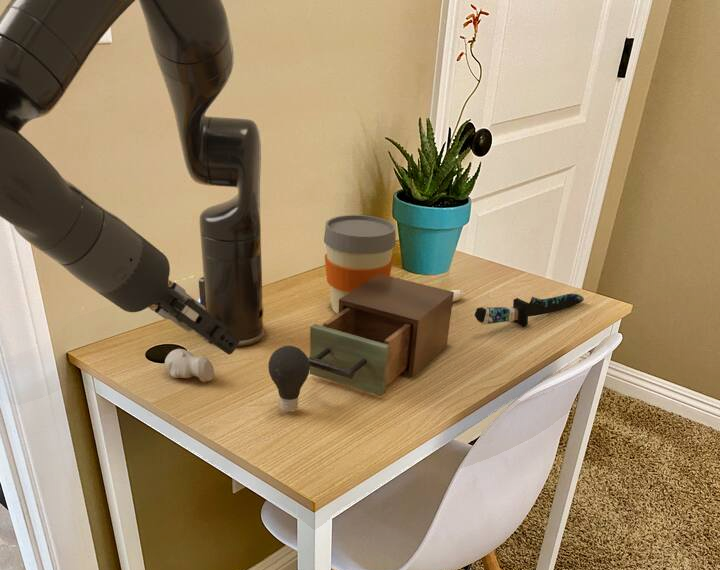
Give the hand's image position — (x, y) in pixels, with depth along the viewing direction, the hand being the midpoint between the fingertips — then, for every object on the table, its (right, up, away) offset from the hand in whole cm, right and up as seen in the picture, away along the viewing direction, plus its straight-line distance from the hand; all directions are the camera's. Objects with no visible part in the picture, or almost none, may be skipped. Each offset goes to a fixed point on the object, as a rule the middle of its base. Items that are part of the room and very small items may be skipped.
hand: (214, 334), depth 91 cm
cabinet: (+23, +4, +33) cm, 40 cm away
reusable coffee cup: (+17, +14, +46) cm, 51 cm away
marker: (+31, +14, +48) cm, 59 cm away
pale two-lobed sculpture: (-8, -2, +22) cm, 23 cm away
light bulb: (+8, -8, +15) cm, 19 cm away
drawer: (+17, -2, +23) cm, 29 cm away
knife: (+49, +11, +46) cm, 68 cm away
